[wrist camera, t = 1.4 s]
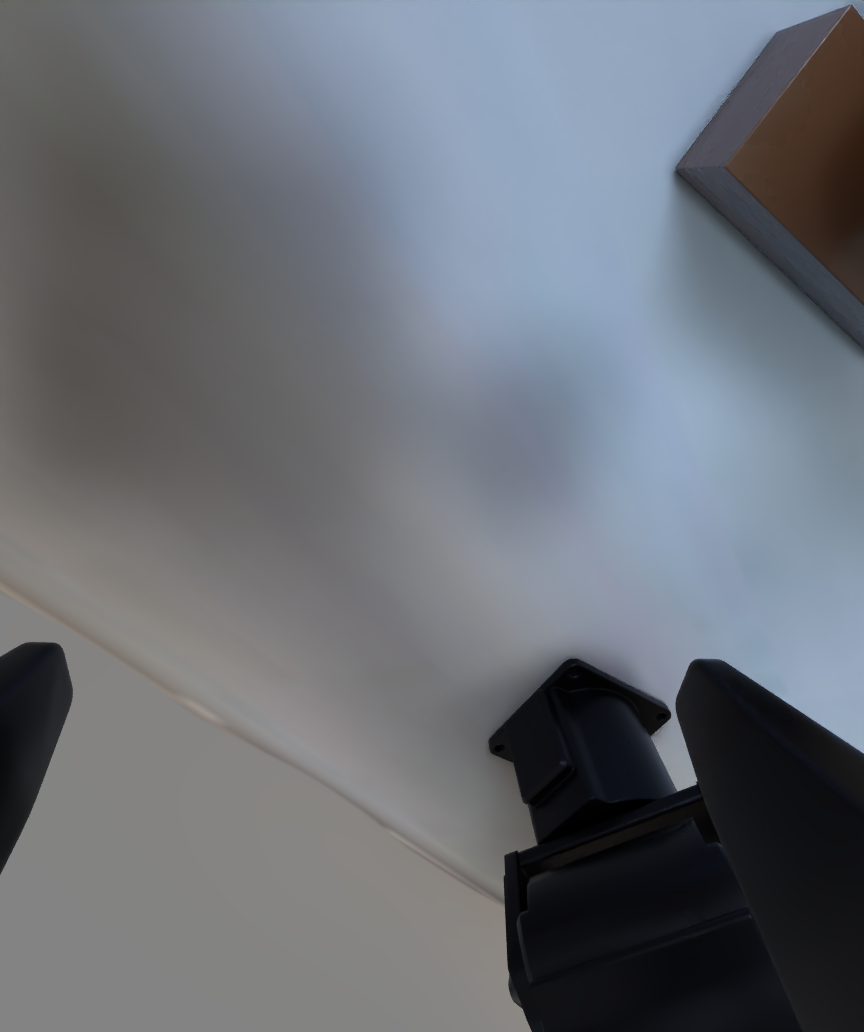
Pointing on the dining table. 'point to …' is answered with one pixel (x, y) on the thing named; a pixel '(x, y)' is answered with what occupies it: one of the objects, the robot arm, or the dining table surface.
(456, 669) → the dining table surface
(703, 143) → the walnut block
